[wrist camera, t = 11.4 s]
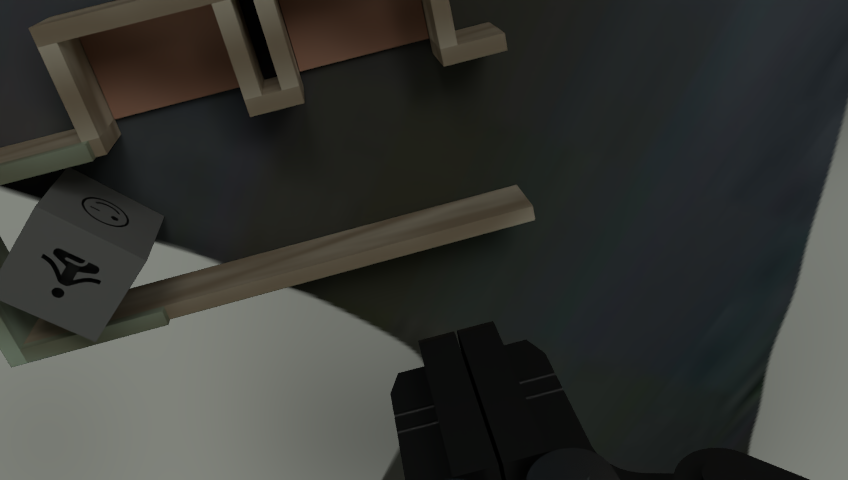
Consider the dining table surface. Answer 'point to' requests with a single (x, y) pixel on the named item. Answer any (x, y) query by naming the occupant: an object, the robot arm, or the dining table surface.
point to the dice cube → (78, 254)
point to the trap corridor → (238, 67)
